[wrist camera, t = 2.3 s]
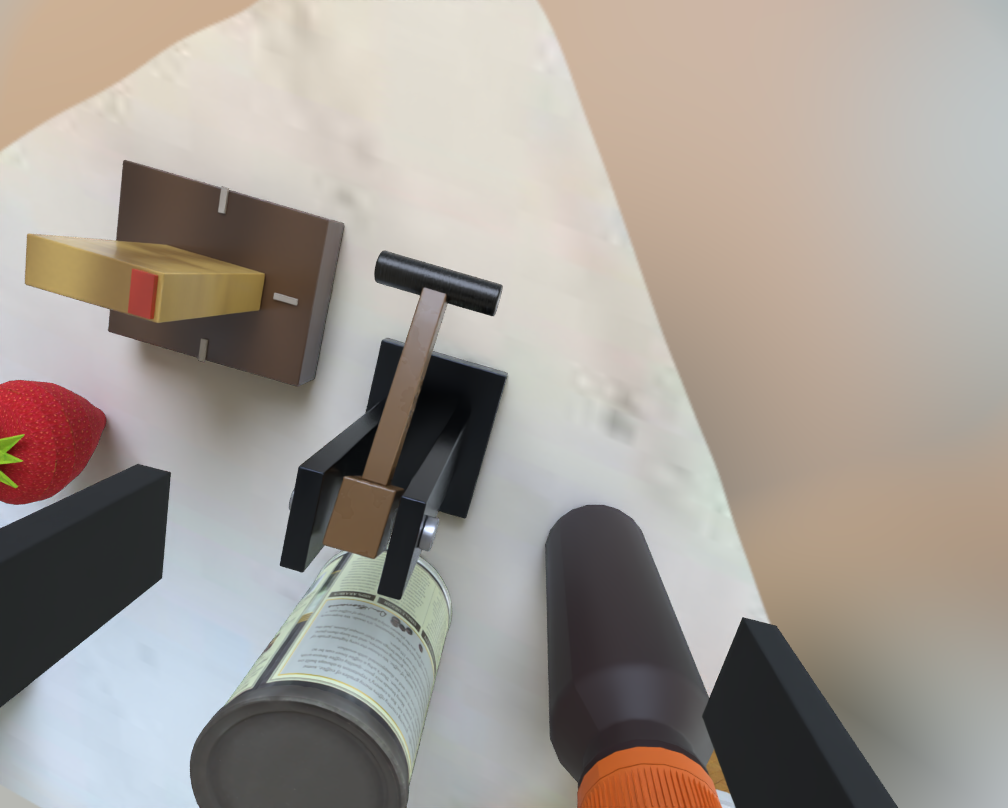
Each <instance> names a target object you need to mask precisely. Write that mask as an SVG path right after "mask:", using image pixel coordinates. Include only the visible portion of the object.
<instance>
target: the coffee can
mask: <svg viewBox="0 0 1008 808" xmlns="http://www.w3.org/2000/svg"><path fill="white" fill-rule="evenodd" d="M388 546H389V544H388V545H387V548H386V550H385V551H384V552H383V553H382V554H380V555H379V556H378V557H377V558H375V559H371V558H367V557H364V556H360V555H357V554H353V553H350V552H346V551H342V552H340V553H338V554H336V555H335V556H334V557H333V558H332V559H330V560H329V561H328V562H327V563H326V565H325V566H324V567H323V568H322V570H321V571H320V573H319V575H318V577H317V579H316V580H315V582H314V583H313V584H312V586H311V587H310V588H309V590H308V591H307V592H306V594H305V595H304V597H303V598H302V599H301V601H300V602H299V603H298V605H297V606H296V608H295V609H294V610H293V612H292V613H291V615H290V616H289V617H288V619H287V620H286V622H285V623H284V624H283V626H282V627H281V628H280V630H279V631H278V633H277V634H276V635H275V637H274V638H273V640H272V641H271V642H270V643H269V645H268V646H267V648H266V649H265V650H264V652H263V653H262V654H261V656H260V657H259V658H258V659H257V661H256V662H255V664H254V665H253V667H252V668H251V670H250V671H249V672H248V674H247V675H246V676H245V678H244V679H243V681H242V682H241V683H240V685H239V686H238V687H237V689H236V690H235V692H234V693H233V694H232V696H231V697H230V699H229V700H228V701H227V703H226V704H225V705H224V707H222V708H221V709H220V710H219V711H218V712H217V713H216V714H215V715H214V716H213V717H212V719H211V720H210V721H209V722H208V724H207V725H206V726H205V727H204V729H203V730H202V732H201V733H200V735H199V736H198V738H197V740H196V742H195V744H194V747H193V750H192V754H191V759H190V778H191V784H192V789H193V793H194V796H195V799H196V801H197V804H198V805H199V807H200V808H406V807H407V802H408V794H409V784H410V780H411V776H412V773H413V768H414V764H415V761H416V756H417V752H418V748H419V745H420V740H421V736H422V732H423V729H424V723H425V720H426V715H427V711H428V707H429V702H430V698H431V694H432V690H433V687H434V683H435V679H436V674H437V670H438V667H439V663H440V658H441V654H442V651H443V647H444V642H445V639H446V635H447V632H448V630H449V626H450V622H451V617H452V608H451V600H450V596H449V593H448V590H447V588H446V585H445V584H444V582H443V580H442V578H441V577H440V575H439V574H438V572H437V571H436V570H435V569H434V568H433V567H432V566H431V565H430V564H428V563H427V562H426V561H425V560H424V559H423V558H421V557H420V556H419V558H418V561H417V563H416V565H415V568H414V570H413V572H412V575H411V577H410V579H409V582H408V584H407V587H406V589H405V591H404V594H403V596H402V598H401V600H396V599H393V598H389V597H386V596H383V595H379V594H377V590H378V586H379V582H380V578H381V574H382V570H383V566H384V562H385V558H386V554H387V550H388Z"/></svg>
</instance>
